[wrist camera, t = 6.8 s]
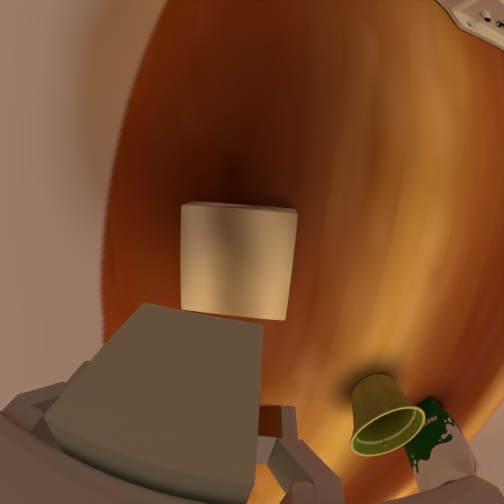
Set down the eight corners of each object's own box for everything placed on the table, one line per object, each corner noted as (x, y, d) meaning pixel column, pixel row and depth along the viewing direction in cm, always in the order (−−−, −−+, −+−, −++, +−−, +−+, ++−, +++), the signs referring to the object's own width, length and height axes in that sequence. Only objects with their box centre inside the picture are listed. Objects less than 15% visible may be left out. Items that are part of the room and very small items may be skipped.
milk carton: (432, 390, 32) (483, 485, 13) (449, 407, 33) (492, 487, 14) (388, 424, 34) (421, 523, 15) (411, 437, 35) (441, 520, 16)
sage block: (263, 324, 11) (254, 483, 4) (246, 408, 12) (232, 534, 5) (144, 302, 11) (43, 415, 4) (149, 388, 12) (93, 496, 5)
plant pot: (328, 385, 32) (338, 435, 24) (393, 350, 30) (419, 394, 22) (352, 419, 34) (363, 464, 25) (408, 390, 32) (429, 431, 24)
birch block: (294, 208, 27) (297, 213, 23) (283, 302, 30) (285, 320, 26) (193, 200, 27) (181, 205, 24) (192, 292, 30) (181, 309, 26)
